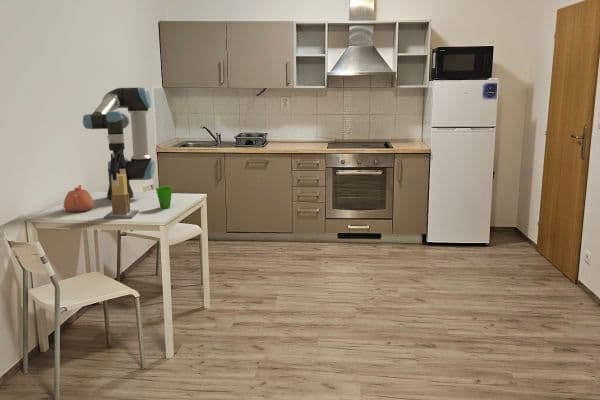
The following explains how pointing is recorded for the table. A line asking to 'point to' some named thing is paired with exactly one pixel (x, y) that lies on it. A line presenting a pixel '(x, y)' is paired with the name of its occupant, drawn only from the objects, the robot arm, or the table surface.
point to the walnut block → (120, 204)
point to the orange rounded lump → (78, 200)
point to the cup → (164, 196)
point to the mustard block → (120, 185)
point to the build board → (129, 215)
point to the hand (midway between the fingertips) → (119, 183)
